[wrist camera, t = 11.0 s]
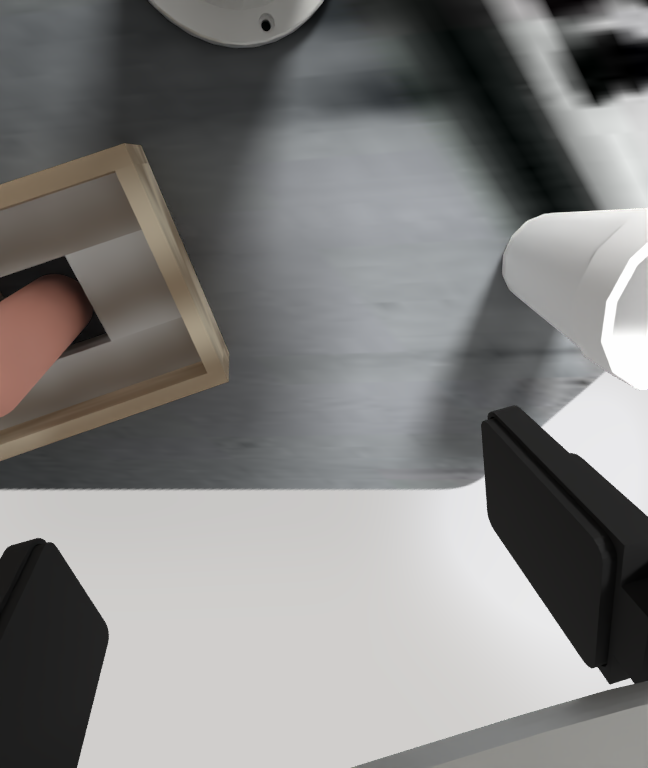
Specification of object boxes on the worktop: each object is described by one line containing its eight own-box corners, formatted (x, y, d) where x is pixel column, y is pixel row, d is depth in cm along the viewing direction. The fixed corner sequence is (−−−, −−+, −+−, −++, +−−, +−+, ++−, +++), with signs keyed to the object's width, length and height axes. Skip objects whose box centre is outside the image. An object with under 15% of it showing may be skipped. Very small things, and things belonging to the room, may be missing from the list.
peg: (13, 285, 31) (-105, 354, 20) (73, 265, 31) (-11, 323, 20) (47, 341, 33) (-44, 432, 22) (104, 322, 33) (41, 403, 22)
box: (-154, 243, 28) (-226, 260, 24) (141, 145, 29) (124, 143, 24) (-12, 436, 35) (-48, 477, 30) (229, 353, 35) (228, 381, 31)
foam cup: (592, 309, 39) (746, 374, 27) (481, 329, 38) (591, 405, 26) (608, 180, 35) (798, 192, 23) (484, 199, 34) (617, 221, 22)
